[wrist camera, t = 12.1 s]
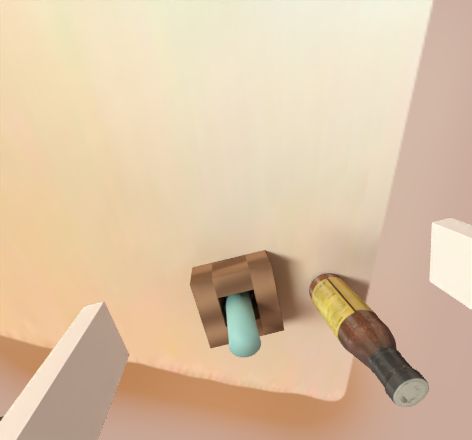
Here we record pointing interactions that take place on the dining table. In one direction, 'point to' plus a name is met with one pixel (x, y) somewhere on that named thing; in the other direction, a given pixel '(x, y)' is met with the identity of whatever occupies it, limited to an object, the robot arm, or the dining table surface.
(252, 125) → the dining table surface
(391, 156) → the dining table surface
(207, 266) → the socket block
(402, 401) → the sauce bottle
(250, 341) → the dowel
